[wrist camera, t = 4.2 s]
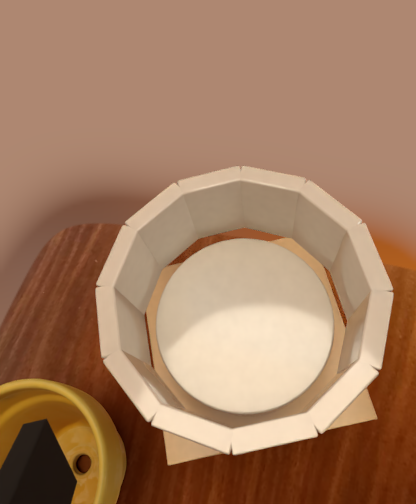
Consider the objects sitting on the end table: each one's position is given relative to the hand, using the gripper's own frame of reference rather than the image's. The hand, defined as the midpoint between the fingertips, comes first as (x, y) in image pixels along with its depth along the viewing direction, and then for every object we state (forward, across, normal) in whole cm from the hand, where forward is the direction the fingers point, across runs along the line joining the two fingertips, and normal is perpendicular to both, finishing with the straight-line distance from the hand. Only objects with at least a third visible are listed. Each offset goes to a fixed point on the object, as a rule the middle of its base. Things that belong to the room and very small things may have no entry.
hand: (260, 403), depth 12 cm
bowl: (+8, 0, -3) cm, 8 cm away
